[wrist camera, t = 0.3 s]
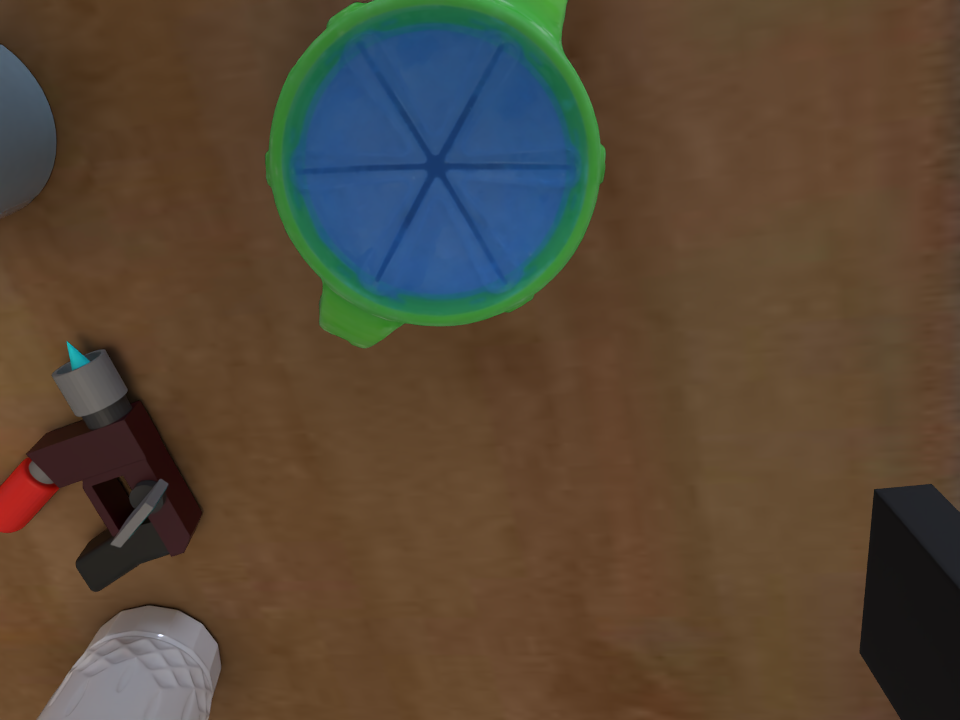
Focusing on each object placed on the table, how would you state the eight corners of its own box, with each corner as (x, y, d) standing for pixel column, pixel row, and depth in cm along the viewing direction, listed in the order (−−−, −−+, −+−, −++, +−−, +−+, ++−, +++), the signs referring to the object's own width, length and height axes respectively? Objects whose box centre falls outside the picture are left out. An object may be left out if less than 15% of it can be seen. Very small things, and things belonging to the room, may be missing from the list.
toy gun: (111, 318, 39) (65, 359, 35) (227, 529, 44) (201, 589, 39) (-75, 386, 40) (-142, 434, 36) (57, 585, 45) (12, 650, 40)
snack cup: (444, -125, 33) (438, -178, 24) (655, 46, 35) (727, 60, 26) (239, 207, 38) (165, 274, 28) (439, 338, 40) (433, 440, 31)
